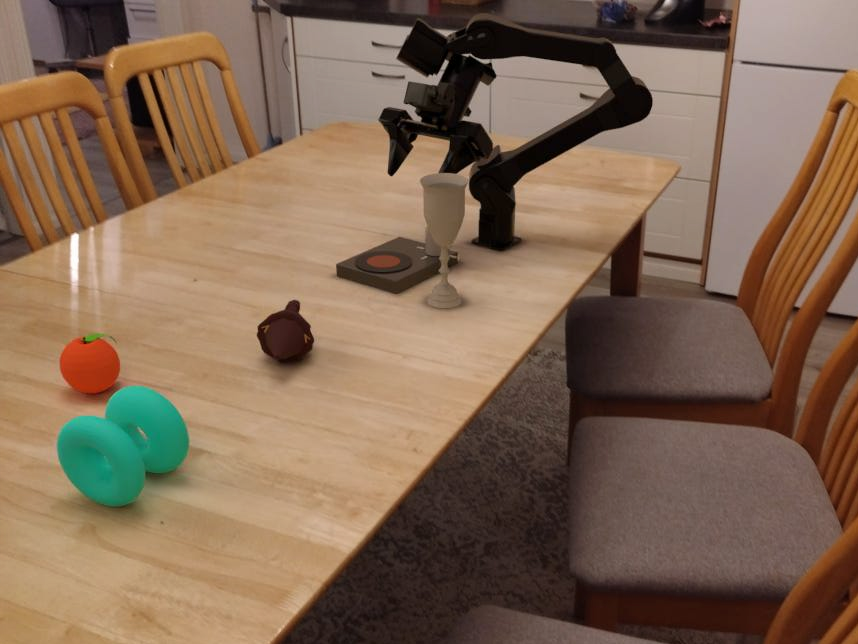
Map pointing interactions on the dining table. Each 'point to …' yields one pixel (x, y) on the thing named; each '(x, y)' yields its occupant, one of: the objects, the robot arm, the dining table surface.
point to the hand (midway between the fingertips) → (412, 180)
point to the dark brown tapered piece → (286, 334)
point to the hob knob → (431, 244)
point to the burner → (383, 262)
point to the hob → (400, 280)
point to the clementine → (90, 364)
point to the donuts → (123, 445)
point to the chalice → (444, 226)
